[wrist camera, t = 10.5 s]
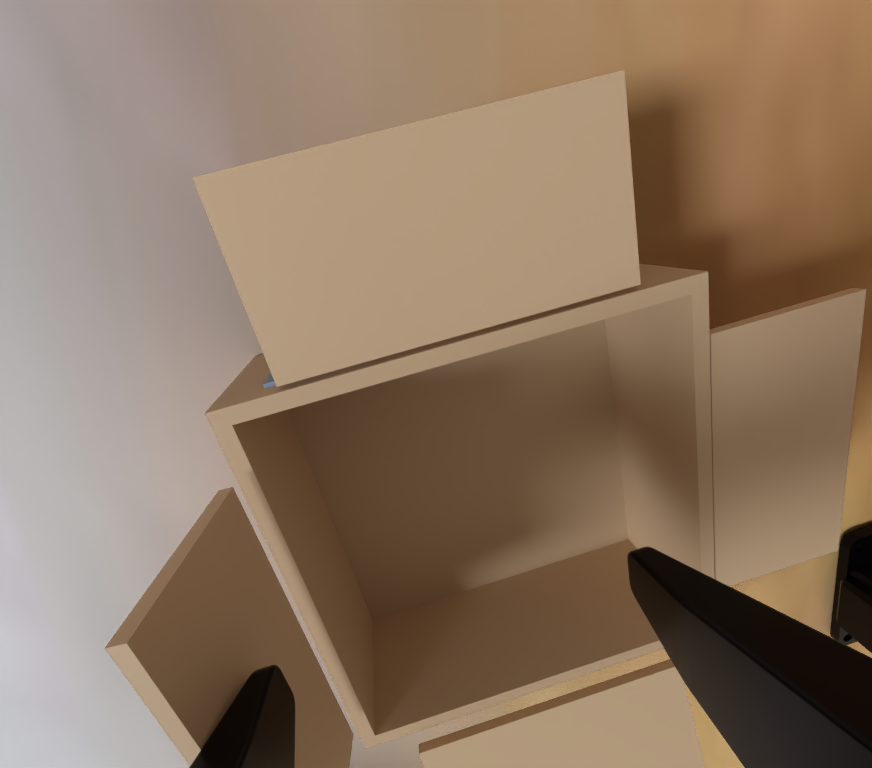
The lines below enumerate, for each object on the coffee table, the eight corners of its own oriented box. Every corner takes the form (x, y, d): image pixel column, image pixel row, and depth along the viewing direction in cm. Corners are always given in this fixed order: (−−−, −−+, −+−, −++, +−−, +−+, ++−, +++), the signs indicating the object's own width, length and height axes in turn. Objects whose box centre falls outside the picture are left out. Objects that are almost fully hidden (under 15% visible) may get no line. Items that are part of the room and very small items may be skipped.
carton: (725, 76, 12) (903, -1, 8) (727, 507, 18) (837, 590, 14) (195, 210, 12) (101, 199, 7) (365, 622, 17) (365, 749, 13)
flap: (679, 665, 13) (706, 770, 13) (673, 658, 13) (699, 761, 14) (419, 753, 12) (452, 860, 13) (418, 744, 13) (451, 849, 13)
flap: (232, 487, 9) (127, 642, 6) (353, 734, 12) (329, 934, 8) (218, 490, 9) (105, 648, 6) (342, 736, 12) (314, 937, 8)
